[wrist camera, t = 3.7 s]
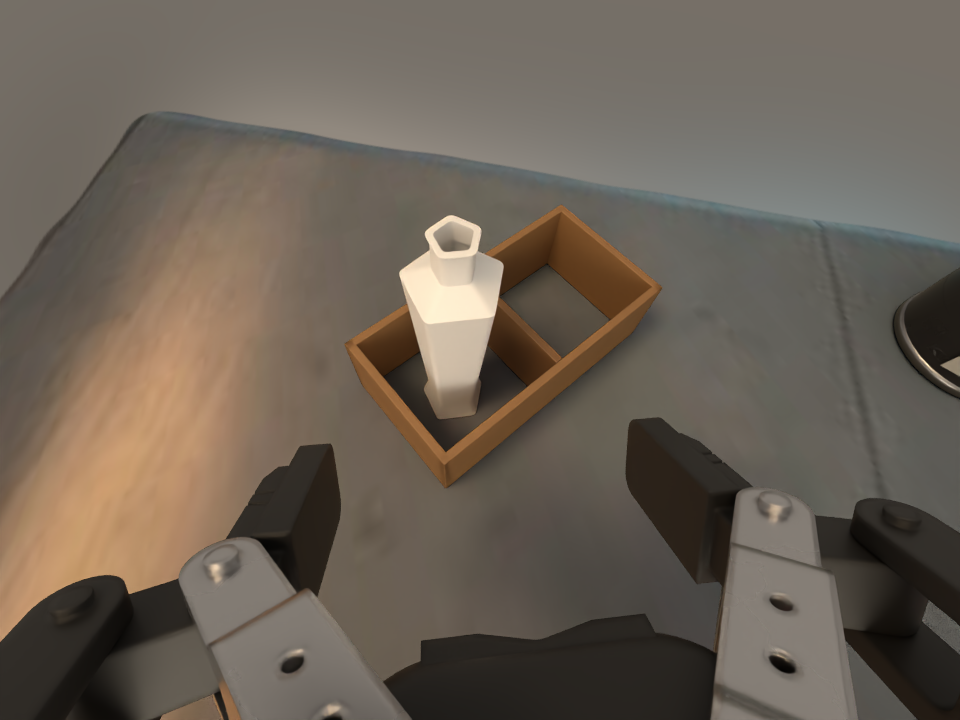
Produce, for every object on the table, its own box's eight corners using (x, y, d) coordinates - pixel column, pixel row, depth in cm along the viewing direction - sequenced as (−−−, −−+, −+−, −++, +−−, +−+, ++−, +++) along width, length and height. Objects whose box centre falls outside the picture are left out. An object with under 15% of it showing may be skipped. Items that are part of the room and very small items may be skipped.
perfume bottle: (501, 408, 30) (538, 260, 17) (440, 436, 29) (430, 301, 16) (470, 352, 32) (482, 179, 19) (412, 377, 31) (381, 211, 18)
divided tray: (547, 256, 36) (561, 204, 32) (632, 332, 34) (663, 287, 29) (361, 383, 31) (343, 343, 26) (445, 489, 28) (444, 465, 23)
